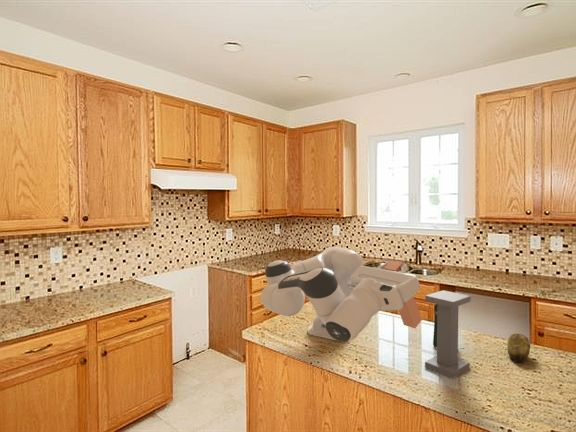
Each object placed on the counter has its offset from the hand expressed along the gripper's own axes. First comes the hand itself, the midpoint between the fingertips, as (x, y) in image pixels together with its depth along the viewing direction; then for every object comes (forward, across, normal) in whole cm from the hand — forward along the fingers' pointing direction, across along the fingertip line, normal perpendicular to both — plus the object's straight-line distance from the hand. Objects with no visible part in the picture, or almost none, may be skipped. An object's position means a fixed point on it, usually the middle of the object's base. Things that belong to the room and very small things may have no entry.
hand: (397, 264), depth 100 cm
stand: (+6, 0, -50) cm, 50 cm away
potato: (+31, +12, -64) cm, 73 cm away
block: (-4, 0, -10) cm, 11 cm away
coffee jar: (+20, -10, -58) cm, 62 cm away
